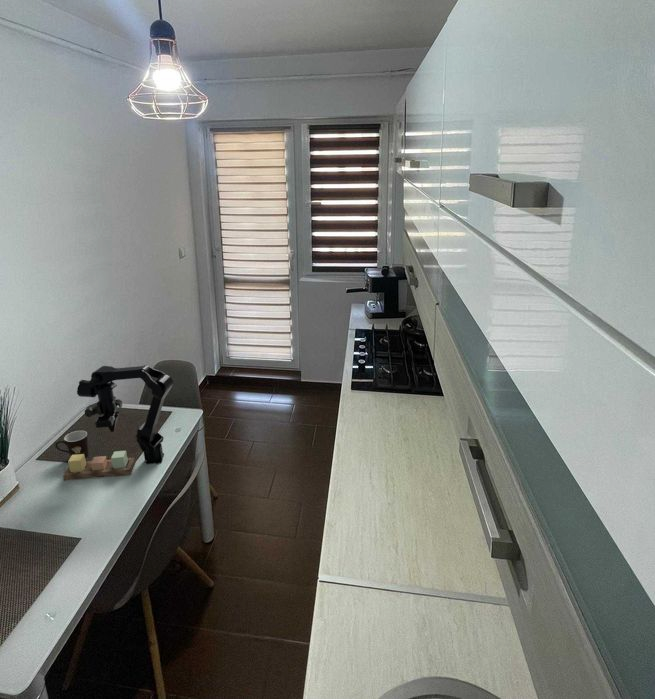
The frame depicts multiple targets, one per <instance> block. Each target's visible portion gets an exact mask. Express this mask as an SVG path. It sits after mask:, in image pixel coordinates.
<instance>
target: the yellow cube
mask: <svg viewBox="0 0 655 699" xmlns="http://www.w3.org/2000/svg"><path fill="white" fill-rule="evenodd" d="M86 459H87V458H86ZM86 459H85V455H84V454H77V455H72V456H71V455H70V458H69V459H68V461H67V463H68V466H69V468H70V472H84V470H85V469H84V468H85V467H86V465H87V464H86Z"/></svg>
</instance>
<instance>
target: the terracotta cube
mask: <svg viewBox="0 0 655 699" xmlns="http://www.w3.org/2000/svg"><path fill="white" fill-rule="evenodd" d="M107 460H108V459H107V455H103V456H93V458H92V460H91V461H92V462H91V463H90V464H91V468H92V471H96V470H105V469H106V467H107V465H108V463H107Z"/></svg>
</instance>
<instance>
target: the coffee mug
mask: <svg viewBox="0 0 655 699" xmlns="http://www.w3.org/2000/svg"><path fill="white" fill-rule="evenodd" d="M61 443H63V444H64V445H65V446H66V447H67V450H65V449H61V448H60V447H58V444H61ZM55 448H56V449H57V450H59V451H60V452H63V453H67V454H69V455H70V457H71V456H72V455H77V454H84V455H85V459H87V458H89V454H90V453H89V441H88V432H87V431H86V430H74V431H72V432H70V433H68V434H66V435H65V436H64V437H63V440H59V441H57V442H56V443H55Z"/></svg>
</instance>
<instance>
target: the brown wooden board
mask: <svg viewBox="0 0 655 699" xmlns="http://www.w3.org/2000/svg"><path fill="white" fill-rule="evenodd" d="M127 458H128V463H127V465H126V467H125V468H117V469H113V465H112V460H111V458H110V459H107V463H108V465H107V467H106V469H105V470H96V471H92V468H91V464H90V463H91V462H92V460H88V461H86V464H87V465H86V467H85V468H84V470H83V471H81V472H70V468H69V465H68V466H67V468H66V469H65V471H64V472H63V474H62V478H63V481H64V482H65V481H74V480H75V481H76V480H88V479H98V478H99V479H100V478H107V477H108V478H110V477H121V476H131V475H132V473H133V470H134V468H135V465H136V463H137V462H136V458H135V457H127Z"/></svg>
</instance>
